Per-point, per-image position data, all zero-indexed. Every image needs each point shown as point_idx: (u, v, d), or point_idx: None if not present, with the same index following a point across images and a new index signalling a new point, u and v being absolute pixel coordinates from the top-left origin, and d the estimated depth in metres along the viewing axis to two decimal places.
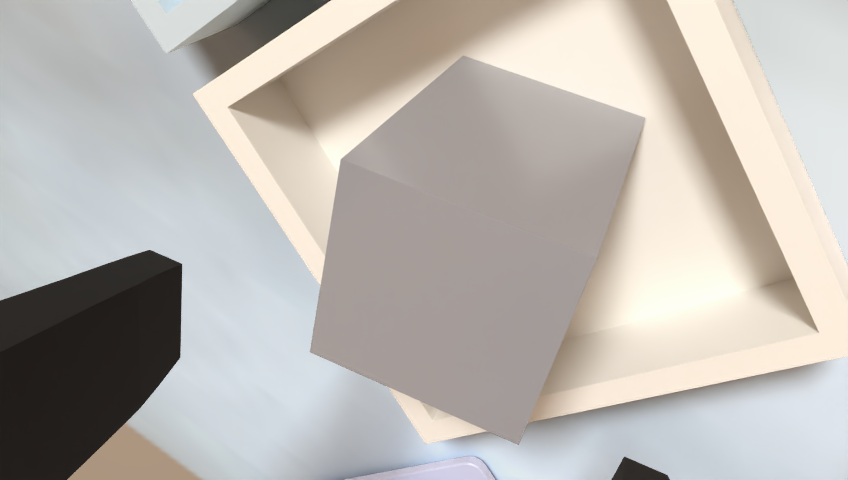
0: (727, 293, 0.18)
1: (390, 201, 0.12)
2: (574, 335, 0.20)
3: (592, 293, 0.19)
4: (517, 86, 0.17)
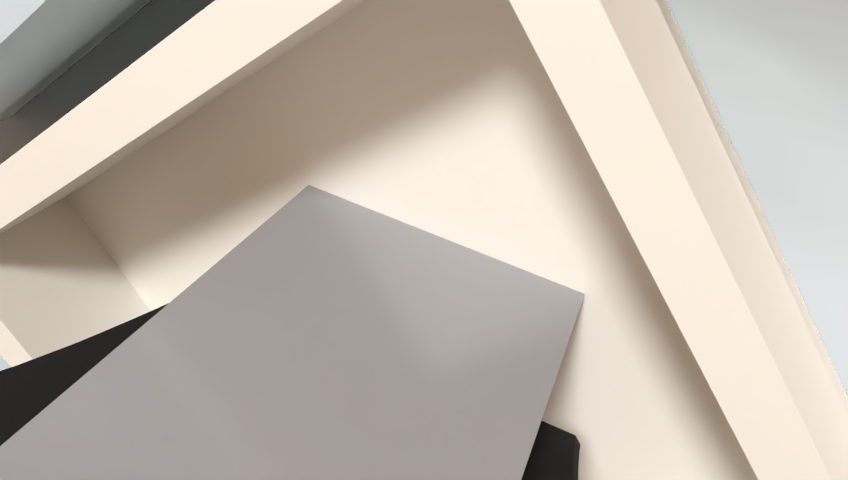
0: None
1: None
2: None
3: None
4: (380, 245, 0.10)
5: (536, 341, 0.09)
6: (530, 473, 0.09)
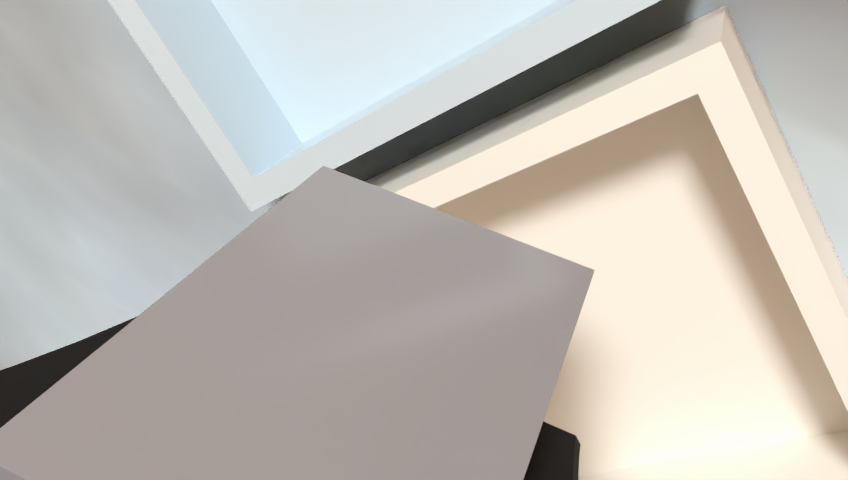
0: (790, 436, 0.19)
1: None
2: (636, 463, 0.21)
3: (656, 428, 0.20)
4: (395, 222, 0.11)
5: (548, 313, 0.10)
6: (530, 473, 0.09)
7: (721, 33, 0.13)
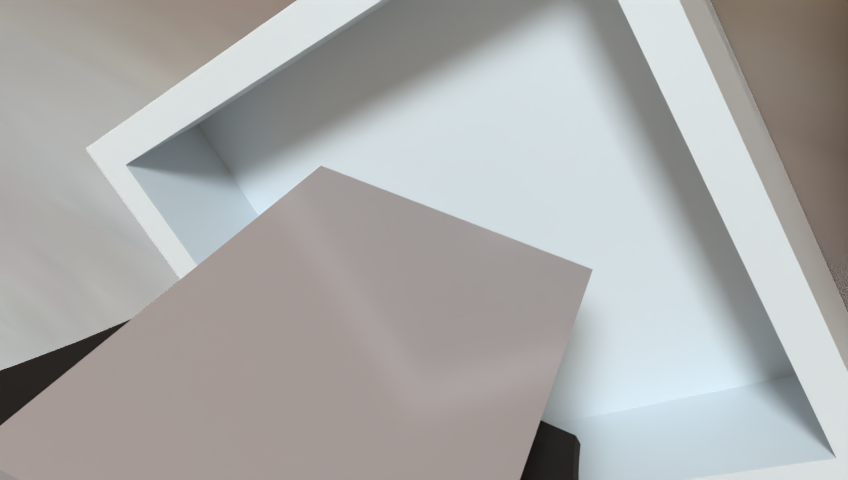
0: None
1: None
2: None
3: None
4: (392, 222, 0.11)
5: (546, 312, 0.10)
6: (530, 473, 0.09)
7: None
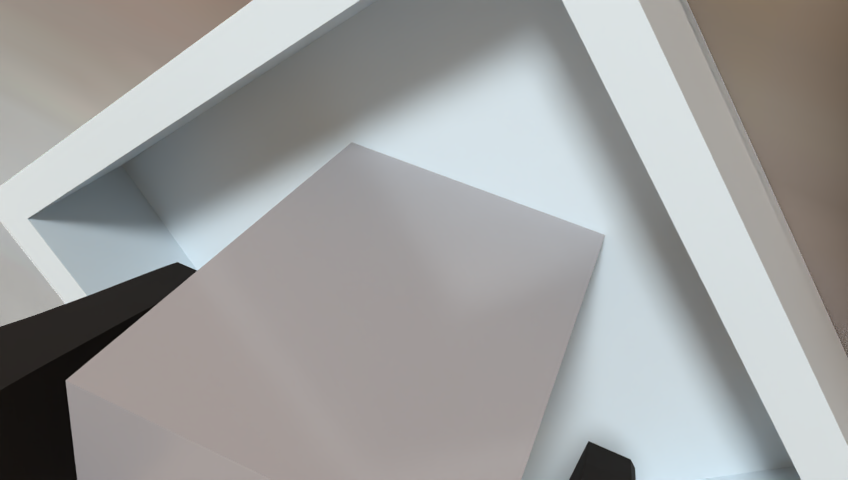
0: None
1: (151, 449, 0.07)
2: None
3: None
4: (420, 193, 0.12)
5: (563, 271, 0.11)
6: None
7: None
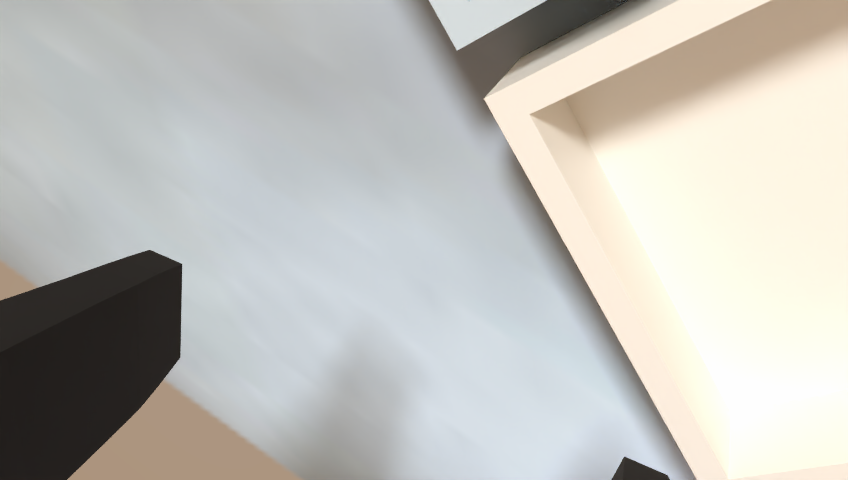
0: None
1: None
2: None
3: None
4: None
5: None
6: None
7: None
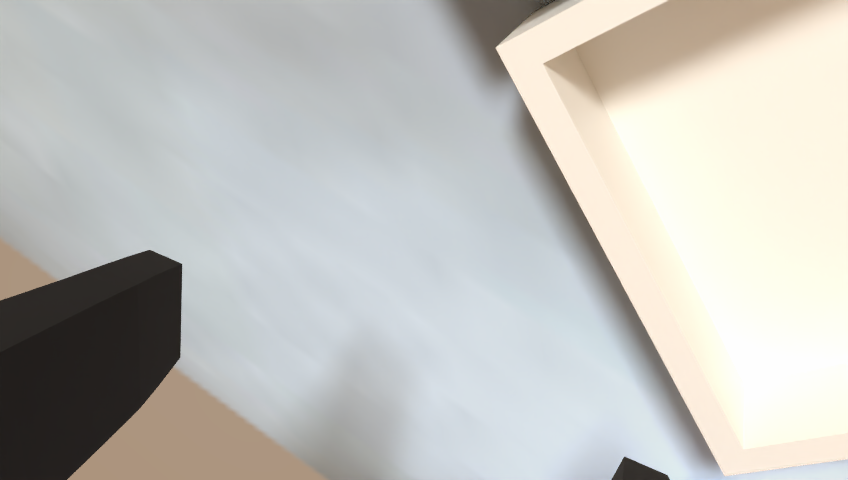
0: None
1: None
2: None
3: None
4: None
5: None
6: None
7: None
